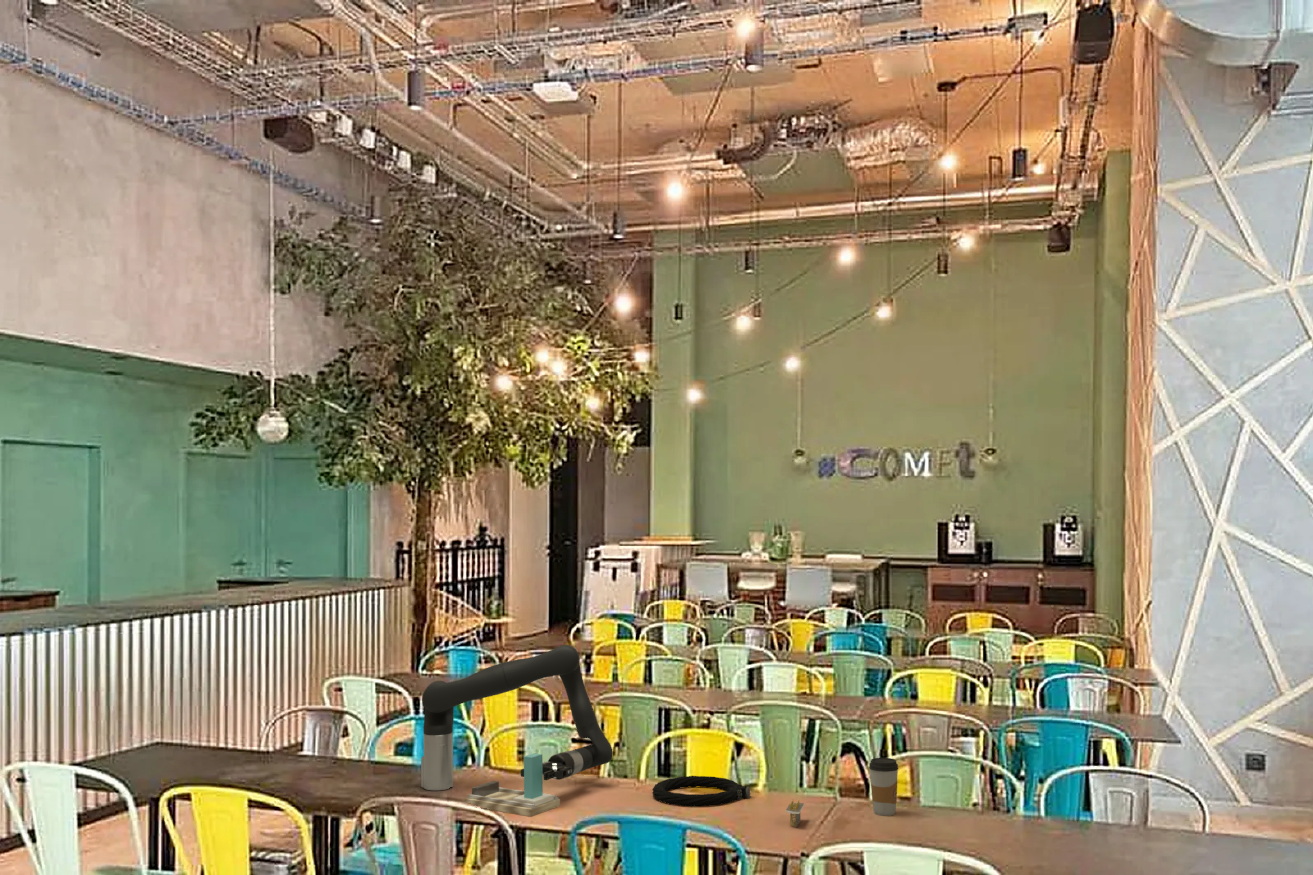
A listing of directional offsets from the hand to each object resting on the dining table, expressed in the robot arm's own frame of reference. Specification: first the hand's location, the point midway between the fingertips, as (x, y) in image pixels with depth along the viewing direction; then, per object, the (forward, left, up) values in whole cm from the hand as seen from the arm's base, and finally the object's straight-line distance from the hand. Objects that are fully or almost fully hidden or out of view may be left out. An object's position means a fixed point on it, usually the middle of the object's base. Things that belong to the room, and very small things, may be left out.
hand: (532, 775), depth 364 cm
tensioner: (0, 0, -8) cm, 8 cm away
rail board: (-8, 0, -10) cm, 13 cm away
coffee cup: (+91, +47, -10) cm, 103 cm away
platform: (+74, +24, -11) cm, 78 cm away
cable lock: (+35, +38, -11) cm, 53 cm away
